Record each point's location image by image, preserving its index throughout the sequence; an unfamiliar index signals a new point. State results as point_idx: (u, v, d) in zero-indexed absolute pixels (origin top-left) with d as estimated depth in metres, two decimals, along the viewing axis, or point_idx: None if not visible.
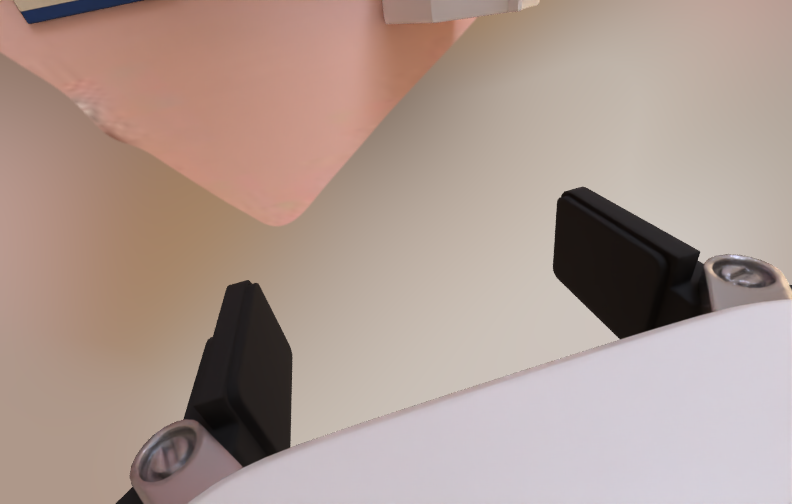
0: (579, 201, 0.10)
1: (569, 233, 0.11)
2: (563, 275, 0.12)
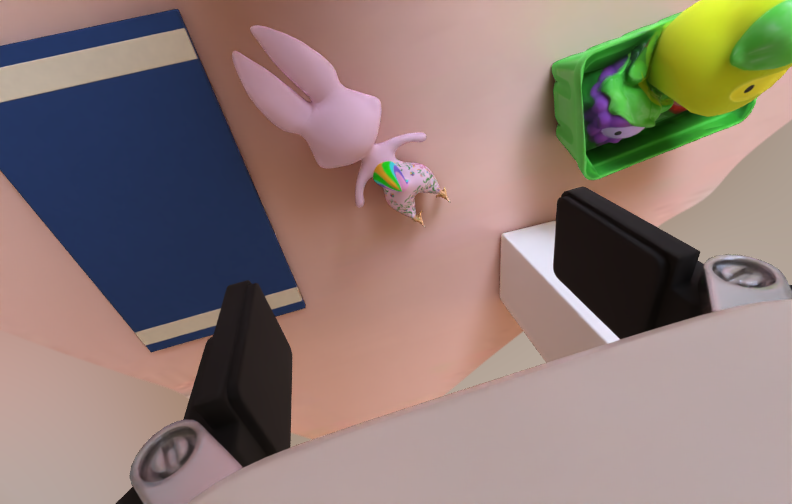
0: (579, 201, 0.10)
1: (569, 233, 0.11)
2: (563, 274, 0.12)
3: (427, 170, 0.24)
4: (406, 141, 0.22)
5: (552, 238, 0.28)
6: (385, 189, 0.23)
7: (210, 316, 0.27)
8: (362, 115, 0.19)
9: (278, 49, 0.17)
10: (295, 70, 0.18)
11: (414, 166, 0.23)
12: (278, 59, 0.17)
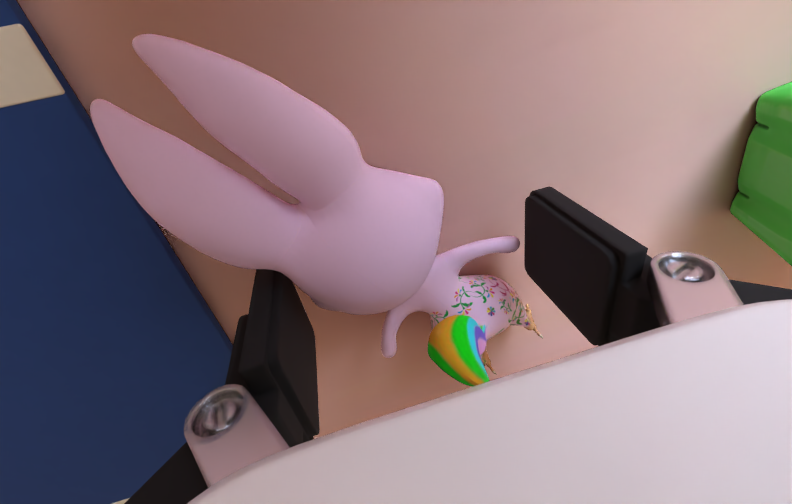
0: (544, 200, 0.11)
1: (536, 231, 0.11)
2: (533, 272, 0.12)
3: (512, 295, 0.13)
4: (483, 254, 0.12)
5: None
6: None
7: None
8: (411, 233, 0.09)
9: (210, 98, 0.06)
10: (257, 148, 0.07)
11: (493, 294, 0.12)
12: (212, 121, 0.07)
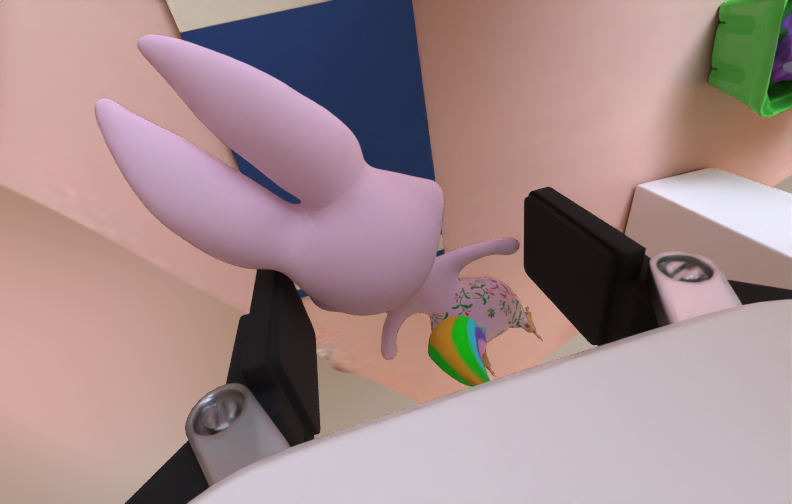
0: (544, 200, 0.11)
1: (535, 231, 0.11)
2: (532, 272, 0.12)
3: (512, 297, 0.13)
4: (483, 256, 0.12)
5: (695, 186, 0.28)
6: None
7: None
8: (412, 234, 0.09)
9: (213, 98, 0.07)
10: (260, 148, 0.07)
11: (493, 296, 0.12)
12: (216, 121, 0.07)
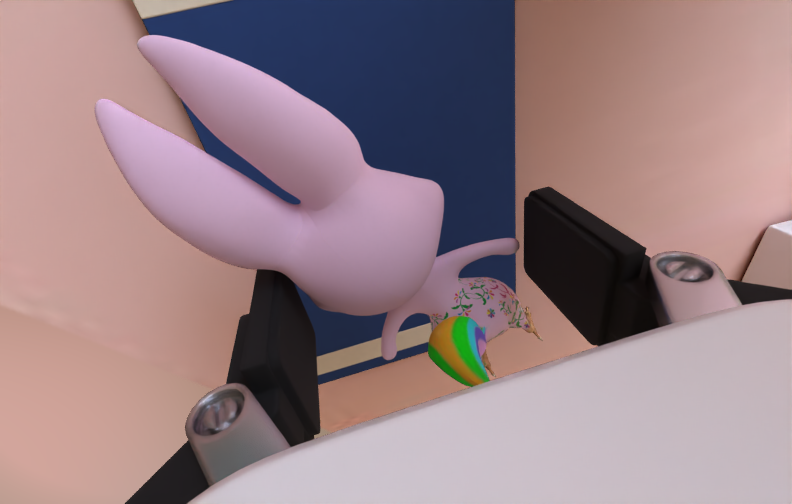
0: (543, 200, 0.11)
1: (535, 231, 0.11)
2: (532, 272, 0.12)
3: (512, 297, 0.13)
4: (483, 256, 0.12)
5: None
6: None
7: (403, 337, 0.20)
8: (412, 234, 0.09)
9: (213, 99, 0.07)
10: (260, 148, 0.07)
11: (492, 296, 0.12)
12: (215, 122, 0.07)
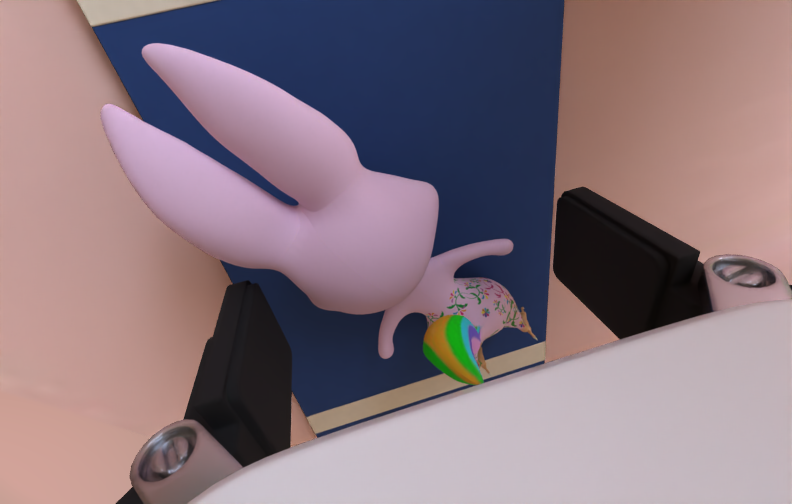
0: (579, 201, 0.10)
1: (569, 233, 0.11)
2: (563, 275, 0.12)
3: (506, 297, 0.13)
4: (477, 256, 0.12)
5: None
6: None
7: (417, 388, 0.18)
8: (407, 234, 0.09)
9: (214, 104, 0.07)
10: (259, 151, 0.07)
11: (487, 295, 0.13)
12: (216, 125, 0.07)
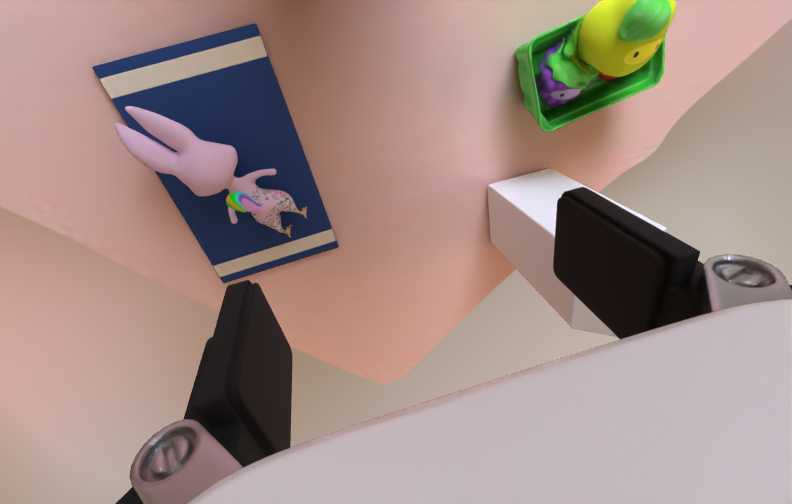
0: (579, 201, 0.10)
1: (569, 233, 0.11)
2: (563, 275, 0.12)
3: (282, 195, 0.32)
4: (260, 175, 0.31)
5: (526, 184, 0.36)
6: None
7: (268, 253, 0.36)
8: (213, 160, 0.28)
9: (144, 121, 0.26)
10: (158, 133, 0.26)
11: (269, 192, 0.31)
12: (146, 127, 0.26)
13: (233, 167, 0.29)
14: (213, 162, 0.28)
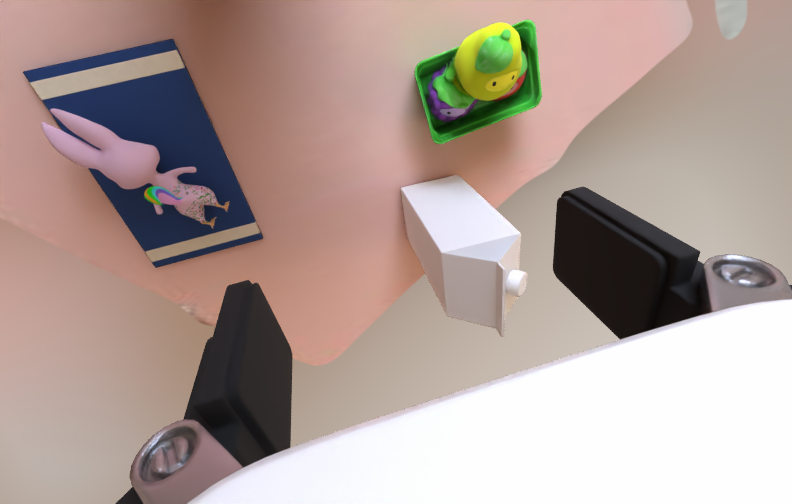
0: (579, 201, 0.10)
1: (569, 233, 0.11)
2: (563, 275, 0.12)
3: (203, 190, 0.36)
4: (181, 172, 0.34)
5: (431, 188, 0.41)
6: None
7: (196, 242, 0.40)
8: (133, 158, 0.32)
9: (67, 122, 0.29)
10: (80, 133, 0.30)
11: (190, 188, 0.35)
12: (68, 127, 0.30)
13: (154, 164, 0.33)
14: (132, 160, 0.32)
